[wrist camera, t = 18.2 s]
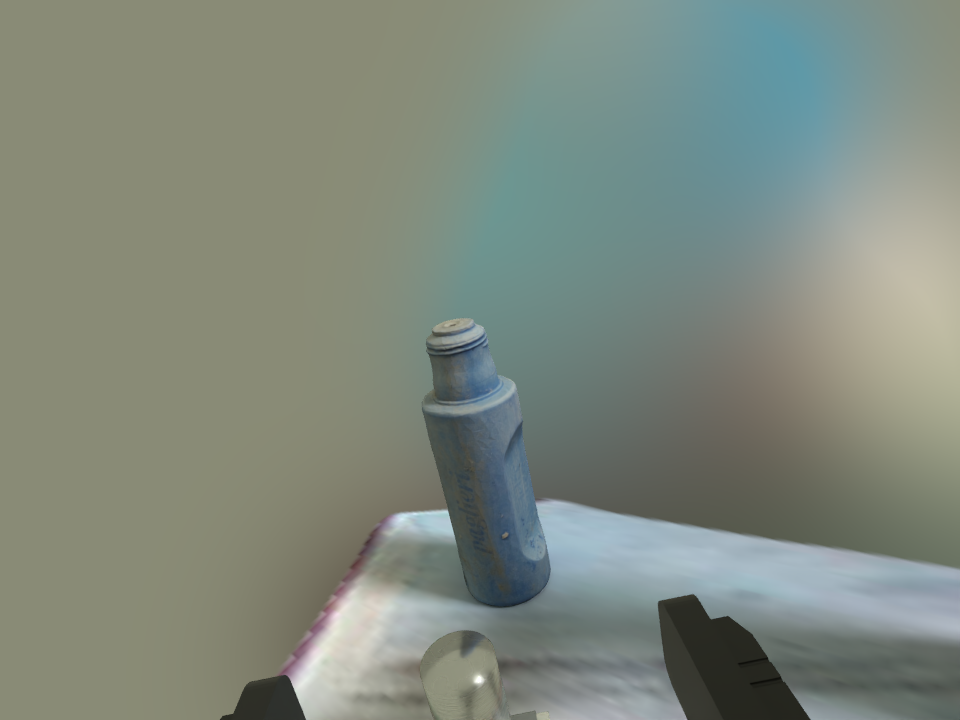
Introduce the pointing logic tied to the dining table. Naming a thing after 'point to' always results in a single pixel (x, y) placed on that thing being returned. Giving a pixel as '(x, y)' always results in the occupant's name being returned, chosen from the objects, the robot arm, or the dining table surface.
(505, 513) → the bottle
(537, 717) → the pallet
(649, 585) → the dining table surface
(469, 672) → the cylinder
